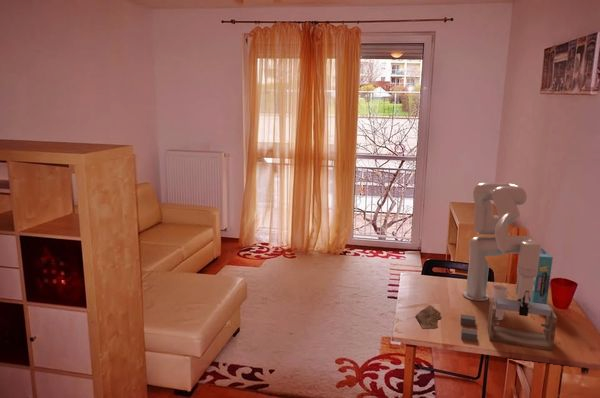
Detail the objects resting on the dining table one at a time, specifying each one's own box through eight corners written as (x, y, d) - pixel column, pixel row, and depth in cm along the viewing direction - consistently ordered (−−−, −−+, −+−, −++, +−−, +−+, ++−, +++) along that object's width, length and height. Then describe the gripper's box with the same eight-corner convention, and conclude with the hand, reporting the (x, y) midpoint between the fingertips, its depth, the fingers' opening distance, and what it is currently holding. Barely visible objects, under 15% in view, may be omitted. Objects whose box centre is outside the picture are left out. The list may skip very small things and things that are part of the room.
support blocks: (460, 320, 209) (461, 314, 208) (474, 322, 207) (475, 316, 206) (461, 339, 192) (462, 332, 191) (476, 341, 190) (477, 335, 189)
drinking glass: (494, 322, 207) (497, 291, 204) (485, 315, 214) (489, 285, 211) (507, 321, 209) (511, 290, 205) (499, 314, 215) (502, 284, 212)
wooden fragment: (436, 332, 198) (436, 329, 198) (410, 326, 202) (411, 324, 202) (444, 308, 221) (444, 306, 221) (421, 304, 225) (421, 302, 225)
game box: (546, 311, 220) (553, 257, 214) (532, 310, 221) (539, 256, 215) (532, 294, 239) (539, 244, 234) (519, 293, 240) (526, 243, 235)
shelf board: (547, 310, 190) (548, 304, 190) (550, 316, 185) (551, 310, 184) (495, 303, 196) (496, 297, 196) (496, 308, 191) (497, 303, 190)
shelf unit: (487, 327, 202) (490, 297, 200) (546, 336, 196) (551, 305, 193) (489, 340, 191) (493, 309, 188) (552, 350, 184) (557, 318, 181)
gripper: (514, 263, 196) (509, 302, 200) (520, 277, 180) (514, 319, 184) (533, 265, 194) (528, 305, 198) (541, 279, 178) (535, 322, 182)
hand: (522, 311), depth 191 cm, fingers closed on shelf board, 6 cm apart
